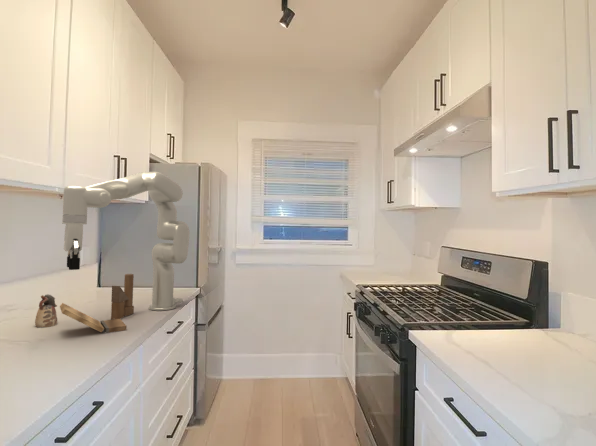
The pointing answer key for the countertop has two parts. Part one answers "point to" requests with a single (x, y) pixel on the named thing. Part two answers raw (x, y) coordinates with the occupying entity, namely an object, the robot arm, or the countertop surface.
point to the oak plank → (81, 317)
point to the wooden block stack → (122, 299)
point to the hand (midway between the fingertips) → (73, 268)
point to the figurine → (46, 312)
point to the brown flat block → (113, 325)
